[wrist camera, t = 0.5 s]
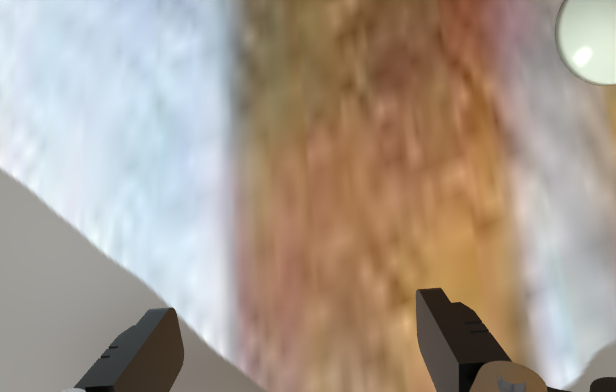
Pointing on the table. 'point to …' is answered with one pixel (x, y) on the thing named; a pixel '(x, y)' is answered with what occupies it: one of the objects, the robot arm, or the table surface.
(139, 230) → the table surface
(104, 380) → the robot arm
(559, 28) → the white plate
